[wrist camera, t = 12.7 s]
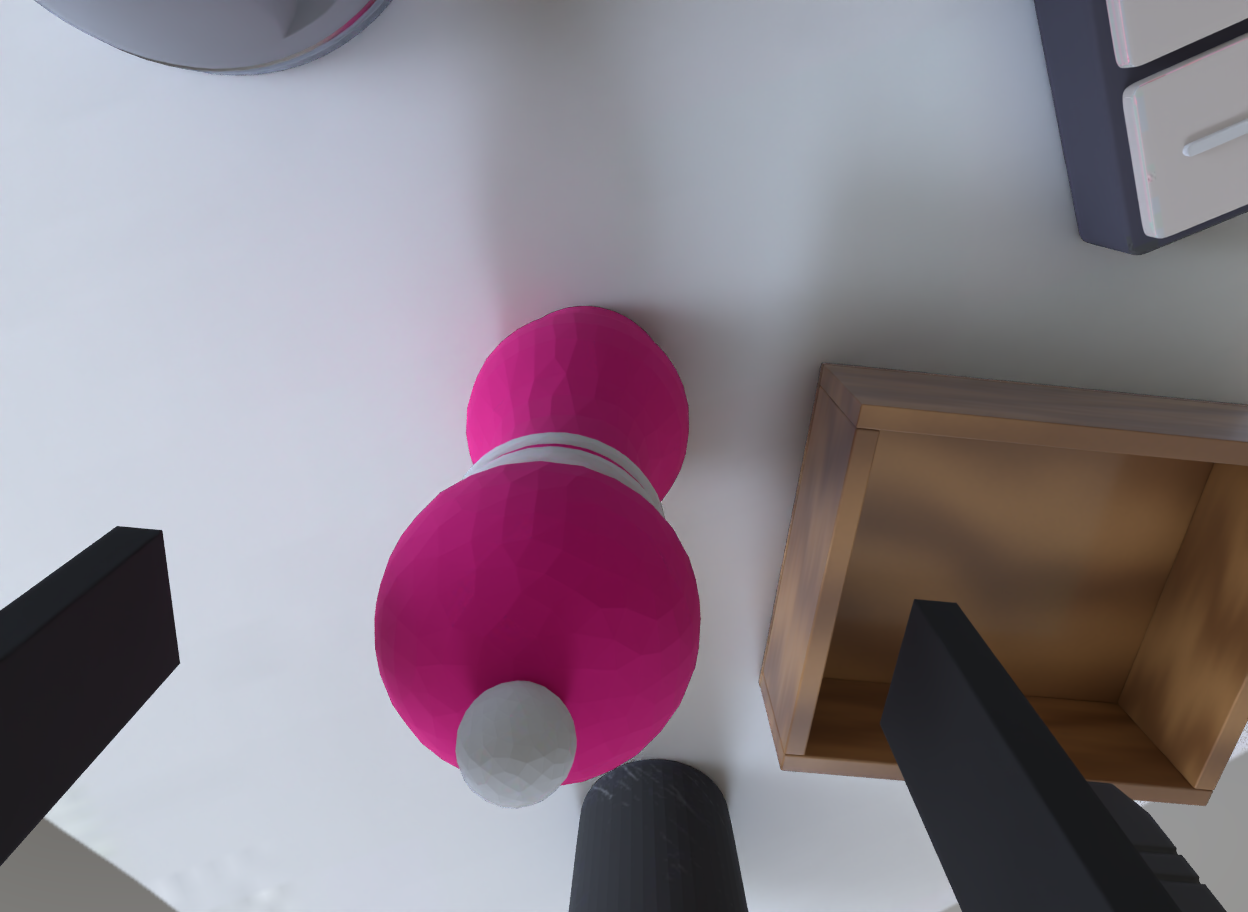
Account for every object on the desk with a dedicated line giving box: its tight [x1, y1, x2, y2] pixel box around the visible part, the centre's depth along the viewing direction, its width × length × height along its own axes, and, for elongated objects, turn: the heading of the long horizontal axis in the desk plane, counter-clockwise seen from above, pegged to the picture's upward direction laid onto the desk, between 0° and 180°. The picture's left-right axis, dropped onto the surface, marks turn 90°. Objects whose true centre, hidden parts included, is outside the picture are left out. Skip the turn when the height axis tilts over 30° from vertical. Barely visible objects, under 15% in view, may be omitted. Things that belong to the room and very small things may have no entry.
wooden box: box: [759, 363, 1248, 806], centre depth 29 cm, size 15×17×5 cm
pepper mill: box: [375, 306, 701, 808], centre depth 20 cm, size 7×7×20 cm
